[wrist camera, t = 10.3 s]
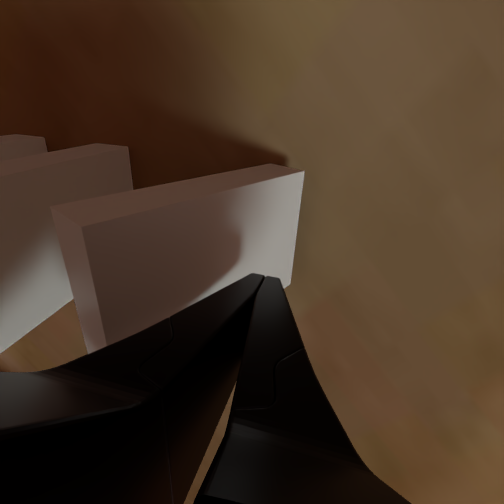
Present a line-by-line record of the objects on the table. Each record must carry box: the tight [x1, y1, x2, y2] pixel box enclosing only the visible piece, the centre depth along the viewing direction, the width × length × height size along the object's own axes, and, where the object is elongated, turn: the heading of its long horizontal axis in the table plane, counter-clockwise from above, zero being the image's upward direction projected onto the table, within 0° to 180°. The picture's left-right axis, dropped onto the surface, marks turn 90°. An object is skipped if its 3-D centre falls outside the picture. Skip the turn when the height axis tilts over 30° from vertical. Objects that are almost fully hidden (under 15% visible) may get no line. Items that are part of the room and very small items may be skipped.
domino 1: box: [0, 143, 133, 353], centre depth 12 cm, size 2×5×8 cm, turn 177°
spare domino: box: [50, 163, 305, 354], centre depth 10 cm, size 2×5×8 cm
